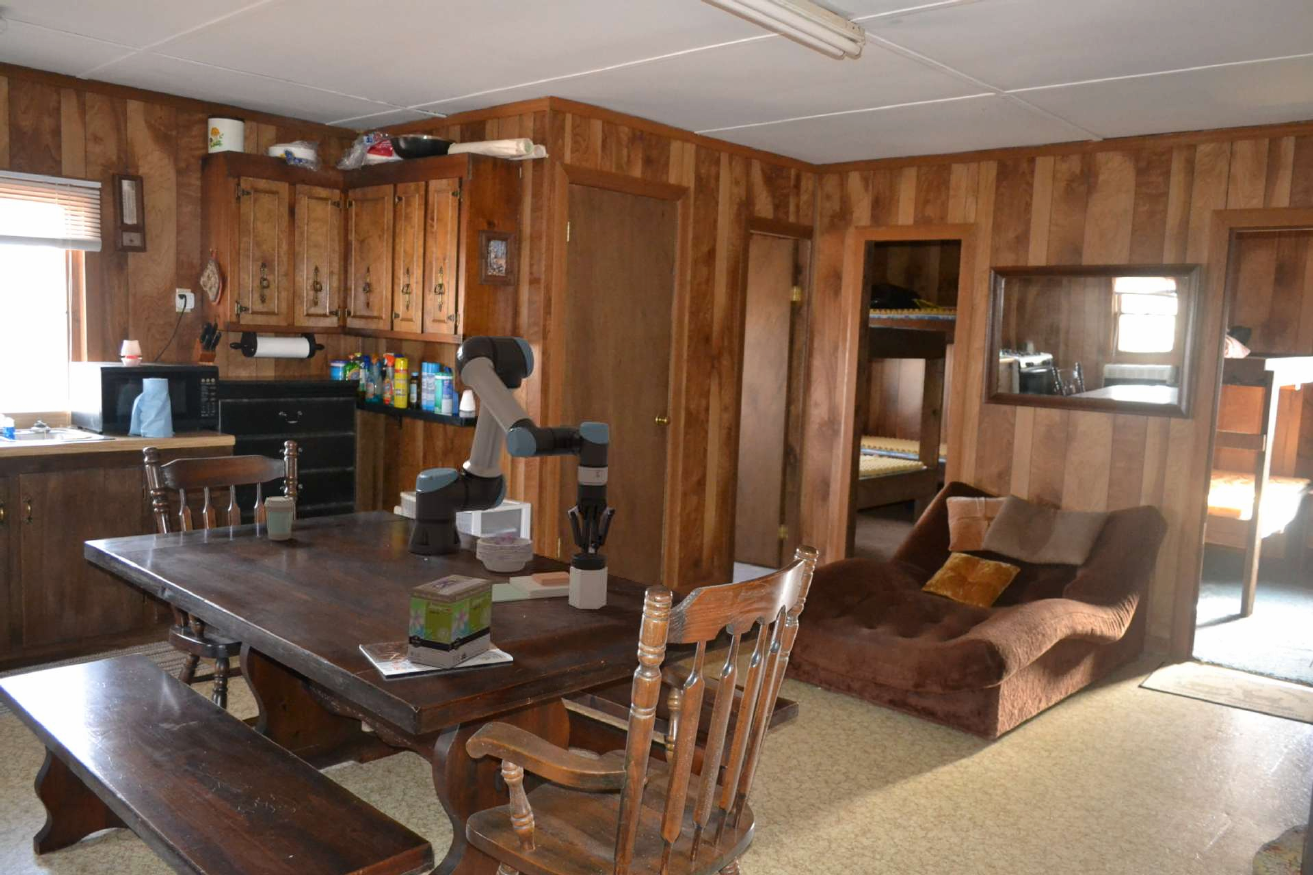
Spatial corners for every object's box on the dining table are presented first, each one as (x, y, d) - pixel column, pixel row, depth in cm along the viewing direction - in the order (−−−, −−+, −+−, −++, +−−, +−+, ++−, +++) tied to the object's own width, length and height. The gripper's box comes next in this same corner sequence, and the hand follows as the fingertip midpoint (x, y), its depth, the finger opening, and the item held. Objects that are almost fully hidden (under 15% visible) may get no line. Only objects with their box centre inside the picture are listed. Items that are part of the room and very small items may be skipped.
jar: (580, 598, 254) (582, 550, 253) (610, 603, 251) (612, 554, 250) (563, 606, 246) (565, 557, 244) (594, 611, 243) (596, 561, 241)
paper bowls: (515, 560, 292) (516, 532, 291) (542, 572, 280) (543, 543, 279) (466, 565, 283) (467, 537, 282) (492, 577, 270) (493, 547, 270)
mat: (450, 589, 257) (450, 587, 256) (507, 584, 264) (507, 583, 264) (469, 604, 243) (469, 602, 243) (529, 599, 251) (529, 597, 251)
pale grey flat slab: (509, 585, 263) (509, 577, 263) (567, 580, 271) (567, 573, 271) (529, 598, 251) (530, 590, 251) (589, 593, 259) (589, 585, 259)
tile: (532, 579, 262) (532, 573, 262) (564, 577, 266) (565, 571, 266) (541, 585, 257) (541, 579, 257) (574, 582, 261) (574, 576, 261)
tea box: (450, 670, 197) (453, 594, 195) (406, 662, 200) (408, 587, 199) (491, 649, 211) (493, 578, 209) (449, 642, 214) (451, 572, 213)
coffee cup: (288, 542, 301) (288, 501, 300) (259, 540, 301) (259, 500, 300) (298, 536, 309) (299, 496, 308) (270, 535, 309) (270, 495, 308)
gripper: (575, 485, 257) (571, 578, 260) (621, 484, 263) (617, 574, 266) (563, 481, 264) (559, 571, 266) (609, 479, 270) (605, 568, 272)
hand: (588, 573), depth 266 cm, fingers closed
